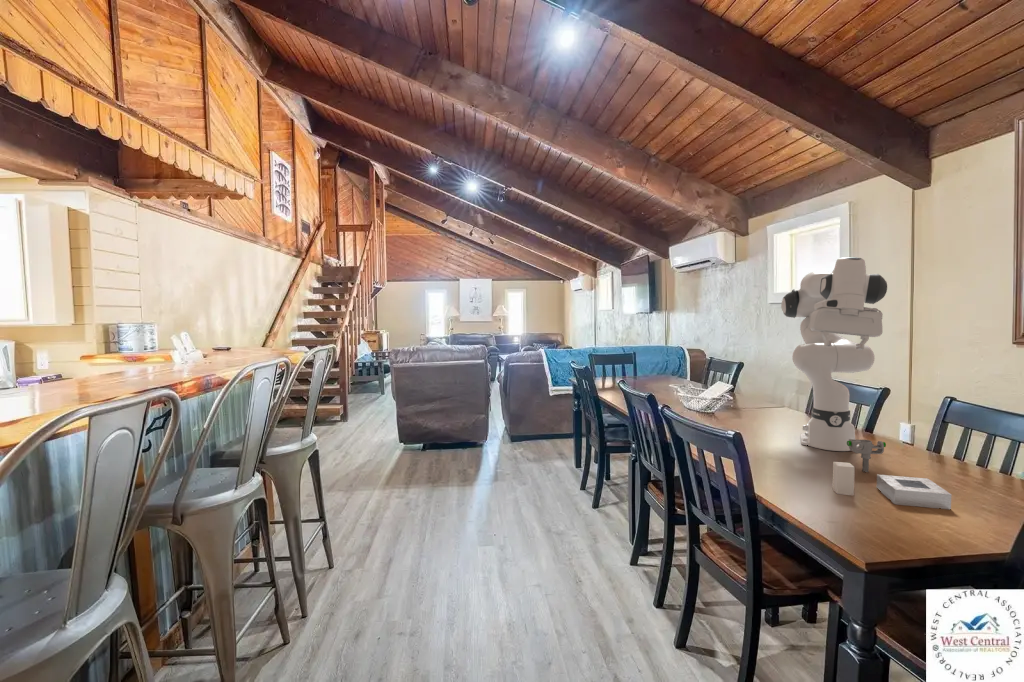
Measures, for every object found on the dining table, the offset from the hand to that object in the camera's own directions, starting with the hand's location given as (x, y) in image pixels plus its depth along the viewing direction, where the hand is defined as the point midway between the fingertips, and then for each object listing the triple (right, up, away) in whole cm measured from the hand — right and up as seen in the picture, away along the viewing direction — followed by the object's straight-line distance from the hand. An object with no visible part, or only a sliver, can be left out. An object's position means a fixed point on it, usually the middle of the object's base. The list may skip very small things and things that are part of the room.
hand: (843, 347), depth 154 cm
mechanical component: (+5, -40, -2) cm, 40 cm away
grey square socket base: (+2, -41, -24) cm, 47 cm away
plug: (-13, -41, -18) cm, 47 cm away
